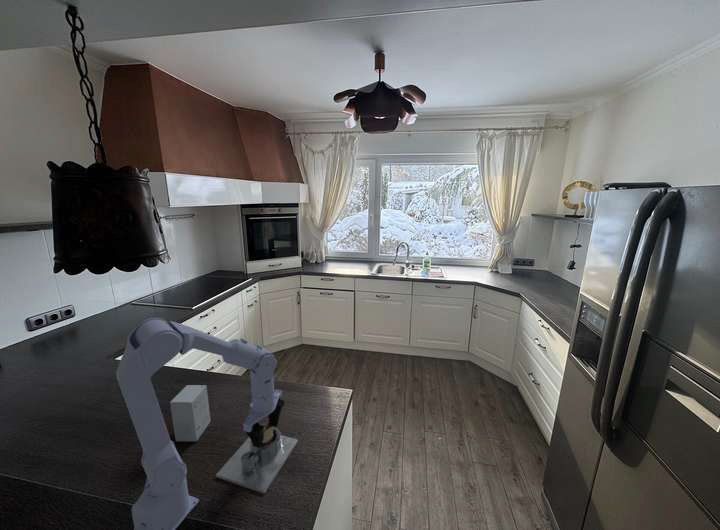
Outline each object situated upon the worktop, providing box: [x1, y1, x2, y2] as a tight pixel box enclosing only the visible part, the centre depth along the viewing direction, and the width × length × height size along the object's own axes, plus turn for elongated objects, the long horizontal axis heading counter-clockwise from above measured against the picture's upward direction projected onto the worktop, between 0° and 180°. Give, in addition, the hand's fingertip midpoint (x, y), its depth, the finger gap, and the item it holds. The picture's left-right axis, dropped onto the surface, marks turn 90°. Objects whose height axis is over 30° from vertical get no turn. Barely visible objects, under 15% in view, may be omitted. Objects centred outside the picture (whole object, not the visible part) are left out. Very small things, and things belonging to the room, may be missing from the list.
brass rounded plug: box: [259, 421, 274, 446], centre depth 79 cm, size 4×4×6 cm
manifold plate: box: [215, 426, 299, 494], centre depth 77 cm, size 16×14×5 cm
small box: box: [169, 384, 212, 442], centre depth 85 cm, size 8×6×13 cm
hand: (265, 435), depth 79 cm, fingers open, 7 cm apart
